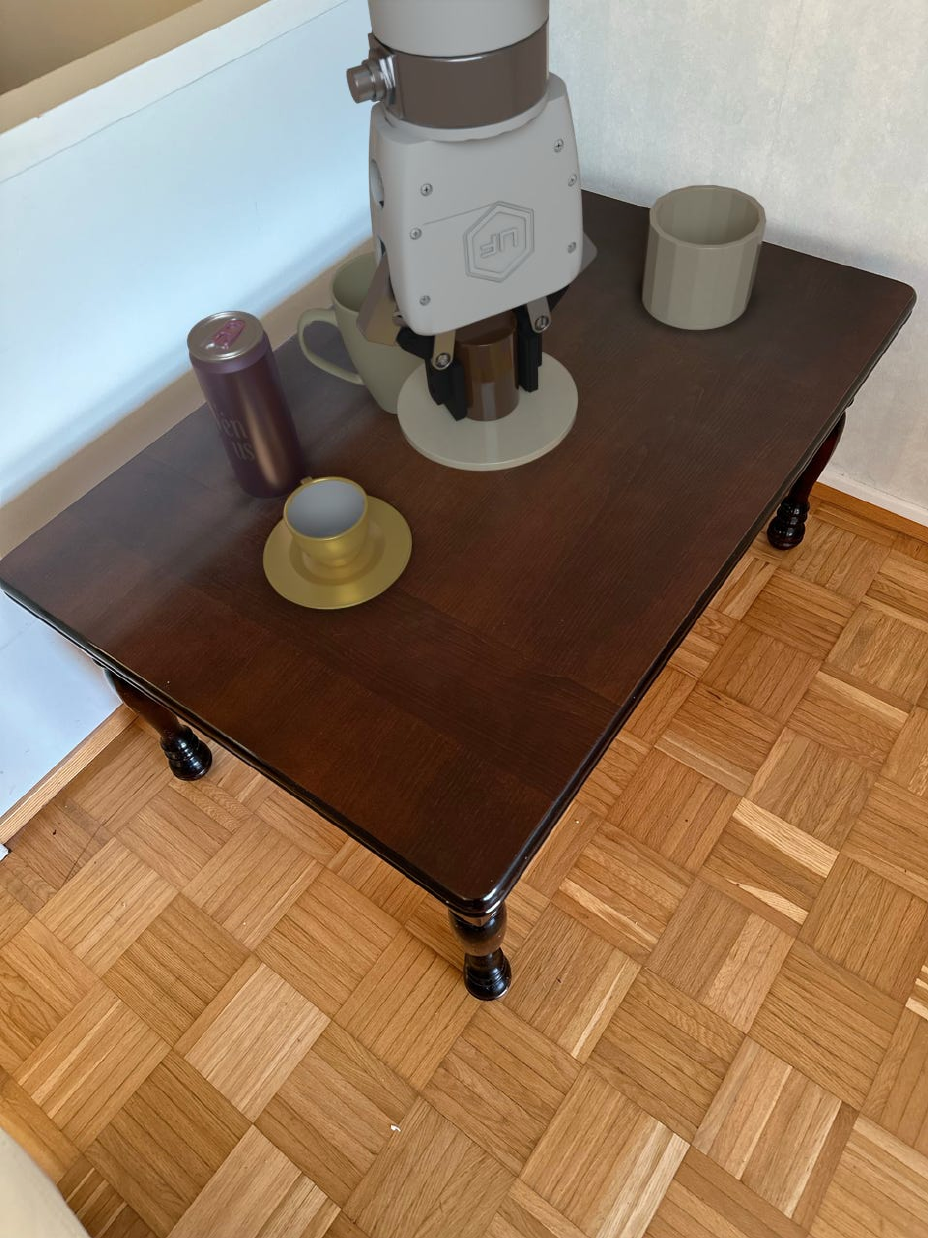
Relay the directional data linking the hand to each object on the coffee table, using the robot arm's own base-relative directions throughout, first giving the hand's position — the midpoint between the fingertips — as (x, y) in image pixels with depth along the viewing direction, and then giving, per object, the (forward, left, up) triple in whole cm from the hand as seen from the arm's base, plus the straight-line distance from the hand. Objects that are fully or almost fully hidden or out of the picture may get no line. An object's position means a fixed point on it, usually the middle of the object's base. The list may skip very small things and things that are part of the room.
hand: (486, 389), depth 54 cm
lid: (0, 0, -1) cm, 1 cm away
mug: (+11, -21, -19) cm, 31 cm away
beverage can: (+20, -11, -19) cm, 30 cm away
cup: (+13, -3, -19) cm, 23 cm away
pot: (-17, -36, -19) cm, 44 cm away
